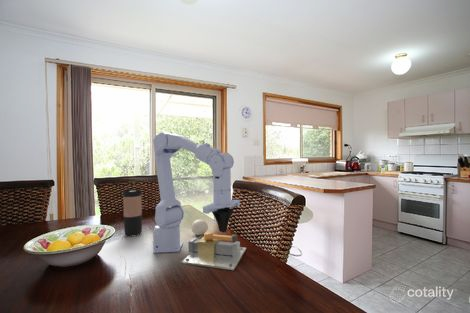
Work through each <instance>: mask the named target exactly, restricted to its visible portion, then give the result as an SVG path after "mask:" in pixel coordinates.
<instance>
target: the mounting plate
mask: <svg viewBox="0 0 470 313" xmlns="http://www.w3.org/2000/svg"><path fill="white" fill-rule="evenodd" d="M246 250H247V247H242V246H240V253H239V255H238V256H237V257H232V256H231V255H222V254H215V255H214V256H212V255H203V254H198V252H195V251H194V252H192V253H189V254H188V255H187V256H186V257H185V258H184V259H183V260H181V262H180V263H181V264H183V265H190V266H198V267H204V268H205V267H206V268H212V269H213V268H214V269H220V270H221V269H222V270H230V271H235V269H236V267H237V266H238V264H239V262H240V260H241V259H242V257H243V256H244V253H245V252H246Z"/></svg>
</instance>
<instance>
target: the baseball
mask: <svg viewBox="0 0 470 313" xmlns="http://www.w3.org/2000/svg"><path fill="white" fill-rule="evenodd" d="M208 229H209V226H208V222H206V220H203V219H195V220H194V221H193V222H192V224H191V231H192V233H193V234H194V235H196V236H202V235H204V233H206V232H208Z"/></svg>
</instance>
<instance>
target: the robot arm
mask: <svg viewBox="0 0 470 313" xmlns="http://www.w3.org/2000/svg"><path fill="white" fill-rule="evenodd" d="M152 142H153V150H154V151H153V152H154V159H155V160H154V161H155V167H156V174H157V182H158V190H159V197H160V201H159V202H158V204H157V205H156V206H155V208H154V209H155V214H154V220H155V223H156V225H155V226H154V229H153V236H152V238H153V242H152V243H153V251H152V252H153V254H156V253H158V254H159V253H179V252H180V250H181V248H182V246H183V242H181V230H180V229H181V227H180V225H181V224H182V220H183V219H184V217H185V216H184V215H185V212H184V209H183V207H182V203H181V201H180V200H178V199H177V198H176V194H175V186H174V179H173V172H172V165H171V164H172V163H171V158H172V157H173V156H174V155H175V154H177V152H178V151H180V150H181V149H185V150H186V151H188V152H191V153H192V154H194V156H195V158H196V159H197V160H199V161H200V162H203V164H204V163H205V164H206V165H208V166H209V168H210V169H211V175H212V177H213V179H212V182H213V183H212V184H213V187H212V188H213V189H212V190H213V192H212V193H213V195H212V196H213V202H212V203H210V204H207V205H203V206H202V214H207V215H208V214H210V213H212V214H213V216H214V218H215V220H216V223H217V227H218V230H219V232H221V233H226V232H228V231H227V230H228V227H229V222H230V219H231V217H232V215H233V213H234V209H233V208H234V207H239V206H241V203H240V201H241V200H239V199H232V182H231V178H232V175H231V174H232V173H231V169H232V168H233V166H234V163H235V162H234V157H233V156H232V155H231V154H230V153H229V152H222V151H221V149H219V148H214V147H212V146H211V144H210V143H208V142H207V143H201V144H198V143H197V142H195V141H193V140H192V139H190V138H188V137H186V136H185V135H182V134H180V133H170V132H163V131H159V132H158V133H157V134H156V135H155V136H154V138H153V139H152Z"/></svg>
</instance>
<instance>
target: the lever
mask: <svg viewBox="0 0 470 313" xmlns="http://www.w3.org/2000/svg"><path fill="white" fill-rule="evenodd" d="M203 237H204V239H205V240H212V239H217V240H219V241H226V242H230V241H231V242H232V243H235V242H236V241H238V242H239V240H238V238H239V237H238V234H232V235H227V234H226V235H225V234H215V233H214V232H211V231H206V232H205V233H204V234H203Z"/></svg>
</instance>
